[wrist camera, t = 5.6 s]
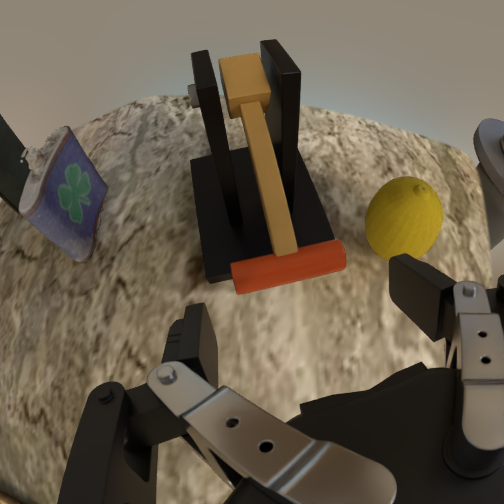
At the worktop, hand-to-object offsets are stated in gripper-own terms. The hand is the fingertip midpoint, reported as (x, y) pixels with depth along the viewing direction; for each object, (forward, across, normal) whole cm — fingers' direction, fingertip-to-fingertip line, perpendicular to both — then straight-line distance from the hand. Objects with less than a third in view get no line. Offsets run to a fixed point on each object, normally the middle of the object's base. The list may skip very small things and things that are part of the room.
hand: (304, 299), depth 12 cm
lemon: (+10, -10, +3) cm, 14 cm away
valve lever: (+6, 0, -5) cm, 8 cm away
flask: (+17, +16, -3) cm, 24 cm away
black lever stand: (+15, 0, -1) cm, 15 cm away
